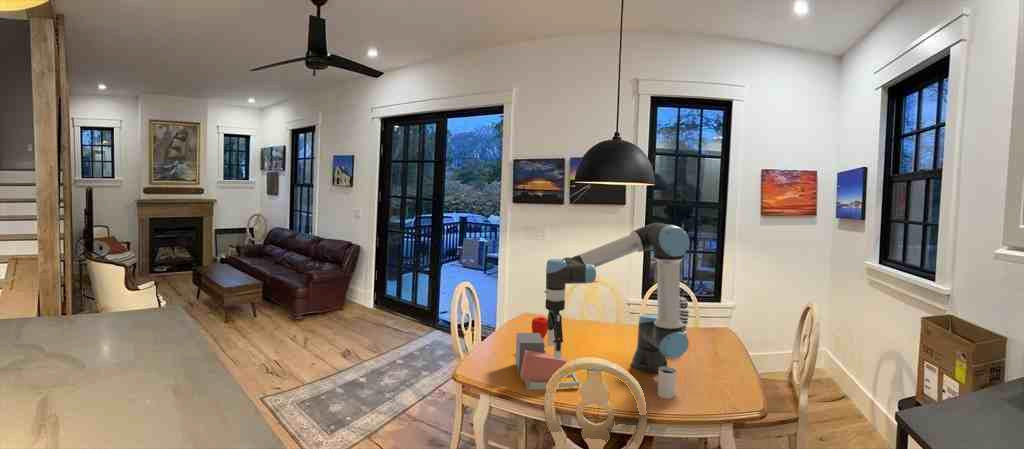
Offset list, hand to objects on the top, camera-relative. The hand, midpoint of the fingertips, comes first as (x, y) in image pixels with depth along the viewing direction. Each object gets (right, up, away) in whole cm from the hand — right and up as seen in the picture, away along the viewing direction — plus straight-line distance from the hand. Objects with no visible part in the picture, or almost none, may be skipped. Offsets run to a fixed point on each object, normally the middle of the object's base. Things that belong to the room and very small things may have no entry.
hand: (554, 351), depth 181 cm
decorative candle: (+67, -12, +52) cm, 86 cm away
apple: (-3, -9, +55) cm, 56 cm away
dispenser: (-9, -12, +14) cm, 21 cm away
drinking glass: (+43, -16, -4) cm, 46 cm away
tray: (-1, -13, +1) cm, 13 cm away
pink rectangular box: (-5, -11, 0) cm, 12 cm away
